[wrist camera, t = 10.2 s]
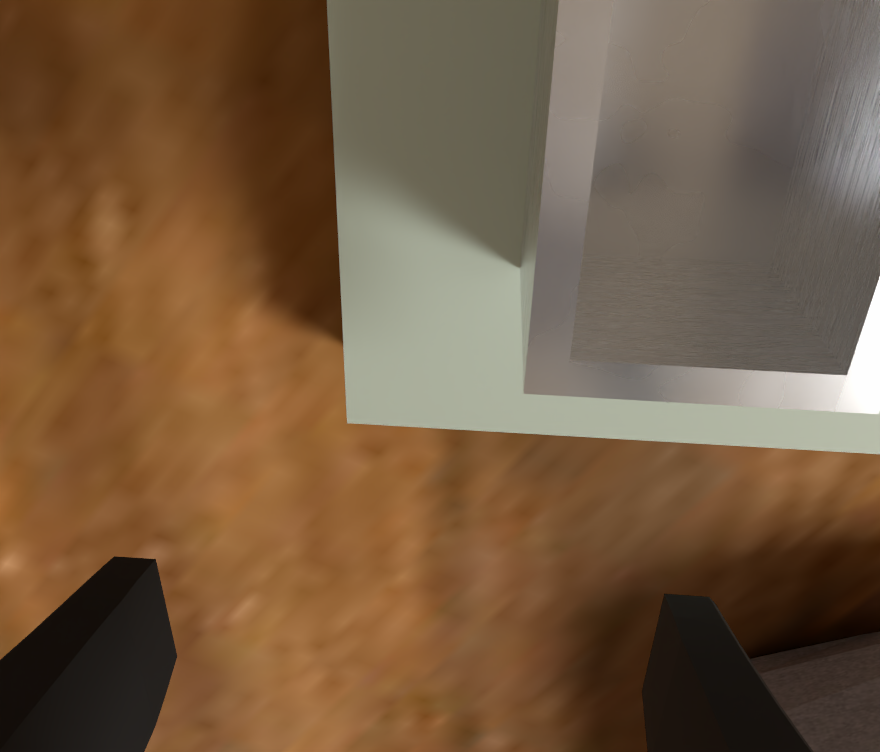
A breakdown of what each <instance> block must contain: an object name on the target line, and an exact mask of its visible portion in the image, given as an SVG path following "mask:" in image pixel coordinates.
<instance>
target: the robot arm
mask: <svg viewBox="0 0 880 752" xmlns="http://www.w3.org/2000/svg"><path fill="white" fill-rule="evenodd" d="M176 658H177V653H176V649H175V644H174V640H173V635H172V631H171V626H170V622H169V617H168V613H167V608H166V604H165V599H164V595H163V590H162V586H161V581H160V577H159V572H158V568H157V563H156V559H144V558H129V557H113V558H112V559H111V560H110V561H109V562H108V563H106V564H105V565H104V566H103V567H102V568H101V569H100V570H99V571H97V572H96V573H95V574H94V575H93V576H92V577H91V578H90V579H89V580H88V581H87V582H85V583H84V584H83V585H82V586H81V587H80V588H79V589H78V590H77V591H76V592H75V593H74V594H72V595H71V596H70V597H69V598H68V599H67V600H66V601H65V602H64V603H63V604H62V605H61V606H60V607H58V608H57V609H56V610H55V611H54V612H53V613H52V614H51V615H50V616H49V617H48V618H46V619H45V620H44V621H43V622H42V623H41V624H40V625H39V626H38V627H37V628H36V629H35V630H33V631H32V632H31V633H30V634H29V635H28V636H27V637H26V638H25V639H23V640H22V641H21V642H20V643H19V644H18V645H17V646H16V647H14V648H13V649H12V650H11V651H10V652H9V653H8V654H7V655H5V656H4V657H3V658H2V659H1V660H0V752H144V751H145V749H146V746H147V744H148V742H149V739H150V737H151V735H152V733H153V730H154V728H155V725H156V722H157V719H158V716H159V713H160V710H161V707H162V704H163V701H164V698H165V695H166V692H167V688H168V685H169V682H170V678H171V675H172V672H173V668H174V665H175V662H176ZM642 696H643V707H644V718H645V729H646V738H647V748H648V752H813V750H812V749H811V748H810V746H809V745H808V743H807V742H806V741H805V739H804V738H803V736H802V735H801V734H800V732H799V731H798V729H797V728H796V727H795V725H794V724H793V722H792V721H791V720H790V718H789V717H788V715H787V714H786V712H785V711H784V710H783V708H782V707H781V705H780V704H779V702H778V701H777V700H776V698H775V697H774V695H773V694H772V692H771V691H770V689H769V688H768V686H767V685H766V683H765V682H764V680H763V679H762V677H761V676H760V674H759V673H758V671H757V670H756V668H755V667H754V665H753V663H752V662H751V660H750V659H749V657H748V656H747V654H746V653H745V651H744V649H743V648H742V646H741V645H740V643H739V642H738V640H737V638H736V637H735V635H734V634H733V632H732V630H731V629H730V627H729V625H728V624H727V622H726V621H725V619H724V617H723V616H722V614H721V612H720V611H719V609H718V607H717V606H716V604H715V603H714V602H713V601H712V600H711V599H710V597H702V596H687V595H672V594H664V598H663V602H662V606H661V611H660V615H659V619H658V624H657V628H656V632H655V637H654V641H653V645H652V650H651V654H650V659H649V663H648V667H647V672H646V676H645V680H644V685H643V689H642Z"/></svg>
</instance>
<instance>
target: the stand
mask: <svg viewBox="0 0 880 752" xmlns="http://www.w3.org/2000/svg"><path fill="white" fill-rule="evenodd" d="M540 9H541V0H327V16H328V36H329V57H330V78H331V99H332V119H333V140H334V161H335V182H336V202H337V223H338V244H339V265H340V285H341V306H342V327H343V348H344V368H345V389H346V410H347V423H355V424H373V425H390V426H407V427H424V428H441V429H458V430H475V431H492V432H510V433H527V434H544V435H561V436H578V437H595V438H612V439H629V440H646V441H664V442H681V443H698V444H715V445H732V446H749V447H766V448H783V449H801V450H818V451H835V452H852V453H869V454H880V411H879V414H866V413H848V412H831V411H814V410H796V409H779V408H761V407H744V406H727V405H709V404H692V403H674V402H657V401H640V400H622V399H605V398H588V397H570V396H553V395H535V394H524V391H523V357H522V323H521V288H520V261H521V249H522V236H523V223H524V211H525V198H526V186H527V173H528V160H529V148H530V135H531V123H532V110H533V97H534V85H535V72H536V60H537V47H538V35H539V22H540Z"/></svg>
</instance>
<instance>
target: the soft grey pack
mask: <svg viewBox="0 0 880 752" xmlns="http://www.w3.org/2000/svg"><path fill="white" fill-rule="evenodd" d="M750 660H751V662H752V663H753V665H754V667H755V668H756V670H757V671H758V673H759V674H760V676H761V677H762V679H763V680H764V682H765V683H766V685H767V686H768V688H769V689H770V691H771V692H772V694H773V695H774V697H775V698H776V700H777V701H778V702H779V704H780V705H781V707H782V708H783V710H784V711H785V712H786V714H787V715H788V717H789V718H790V720H791V721H792V722H793V724H794V725H795V727H796V728H797V729H798V731H799V732H800V734H801V735H802V736H803V738H804V739H805V741H806V742H807V743H808V745H809V746H810V748H811V749H812V750H813V752H880V632H874V633H868V634H863V635H858V636H853V637H849V638H844V639H840V640H835V641H830V642H826V643H821V644H816V645H812V646H807V647H802V648H798V649H793V650H788V651H784V652H779V653H775V654H770V655H765V656H761V657H756V658H751V659H750Z"/></svg>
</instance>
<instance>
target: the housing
mask: <svg viewBox="0 0 880 752" xmlns="http://www.w3.org/2000/svg"><path fill="white" fill-rule="evenodd" d="M520 288H521V323H522V357H523V391H524V394H535V395H553V396H570V397H588V398H605V399H622V400H640V401H657V402H674V403H692V404H709V405H727V406H744V407H761V408H779V409H796V410H814V411H831V412H848V413H866V414H879V411H880V0H541V9H540V22H539V35H538V47H537V60H536V72H535V85H534V97H533V110H532V123H531V135H530V148H529V160H528V173H527V186H526V198H525V211H524V223H523V236H522V249H521V261H520Z"/></svg>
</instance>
